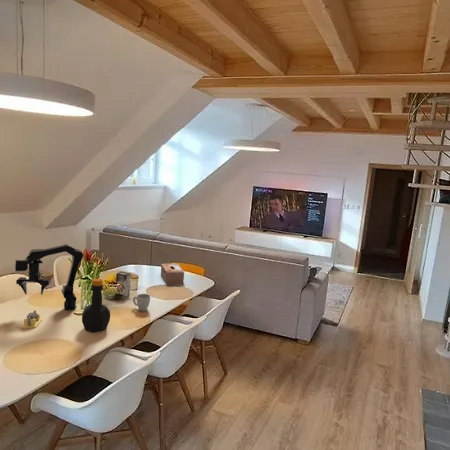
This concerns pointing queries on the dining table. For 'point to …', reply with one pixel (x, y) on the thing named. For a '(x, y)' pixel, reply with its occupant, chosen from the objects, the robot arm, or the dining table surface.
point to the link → (32, 316)
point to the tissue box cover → (172, 273)
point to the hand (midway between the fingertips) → (33, 294)
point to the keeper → (31, 322)
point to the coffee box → (124, 281)
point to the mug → (142, 301)
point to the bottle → (96, 311)
